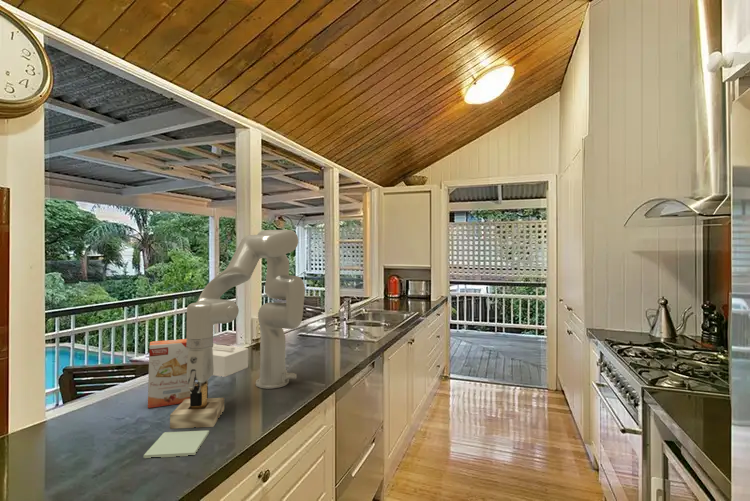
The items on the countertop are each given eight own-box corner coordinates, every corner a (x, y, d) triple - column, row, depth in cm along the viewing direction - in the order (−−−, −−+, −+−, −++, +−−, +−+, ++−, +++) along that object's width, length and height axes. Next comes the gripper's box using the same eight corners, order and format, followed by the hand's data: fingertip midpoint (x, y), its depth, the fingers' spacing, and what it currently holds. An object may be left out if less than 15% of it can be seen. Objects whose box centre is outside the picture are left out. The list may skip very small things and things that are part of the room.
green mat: (209, 433, 107) (209, 430, 107) (194, 455, 96) (194, 452, 96) (164, 435, 106) (164, 432, 106) (143, 458, 94) (143, 455, 94)
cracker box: (147, 409, 123) (148, 344, 123) (148, 402, 128) (149, 340, 128) (195, 402, 129) (196, 340, 129) (194, 396, 135) (195, 337, 135)
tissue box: (204, 361, 178) (204, 338, 178) (248, 367, 169) (248, 343, 169) (178, 370, 164) (179, 345, 165) (224, 377, 156) (225, 351, 156)
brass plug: (208, 414, 119) (209, 382, 119) (203, 420, 115) (204, 387, 115) (194, 414, 119) (194, 382, 119) (188, 421, 114) (189, 387, 114)
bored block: (224, 409, 123) (224, 397, 123) (213, 426, 111) (213, 413, 111) (185, 411, 122) (185, 398, 122) (169, 428, 110) (170, 414, 110)
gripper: (202, 349, 109) (201, 413, 109) (221, 336, 125) (220, 392, 125) (175, 350, 108) (174, 414, 108) (197, 336, 125) (197, 392, 125)
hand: (199, 401), depth 117 cm, fingers closed on brass plug, 4 cm apart
